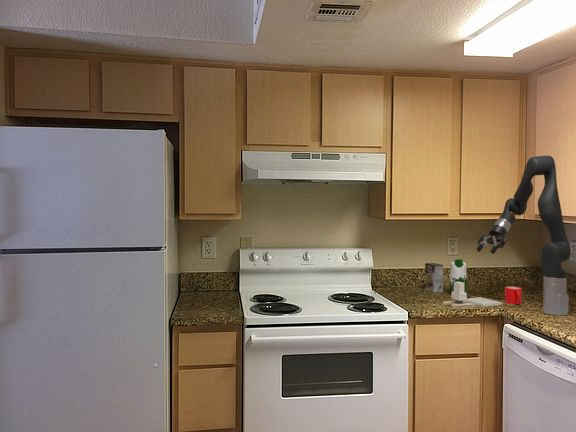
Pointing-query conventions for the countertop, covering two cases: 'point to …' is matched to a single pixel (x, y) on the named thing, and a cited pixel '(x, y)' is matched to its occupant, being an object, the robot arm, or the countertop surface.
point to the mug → (513, 295)
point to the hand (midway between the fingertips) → (484, 251)
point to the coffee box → (434, 277)
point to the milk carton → (457, 273)
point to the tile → (483, 301)
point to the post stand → (459, 304)
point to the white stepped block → (459, 291)
